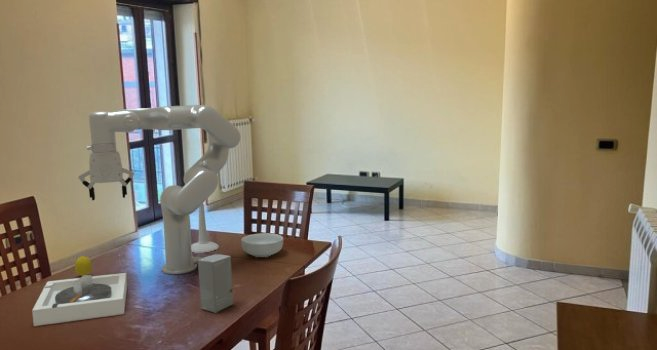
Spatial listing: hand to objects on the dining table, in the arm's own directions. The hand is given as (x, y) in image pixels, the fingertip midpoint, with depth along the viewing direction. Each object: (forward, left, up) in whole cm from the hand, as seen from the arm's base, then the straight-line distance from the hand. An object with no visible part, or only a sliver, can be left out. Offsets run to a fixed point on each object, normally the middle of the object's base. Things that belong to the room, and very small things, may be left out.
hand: (108, 198), depth 178 cm
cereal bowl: (-55, -12, -30) cm, 64 cm away
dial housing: (+8, +18, -30) cm, 36 cm away
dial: (+8, +18, -28) cm, 34 cm away
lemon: (+11, -9, -30) cm, 34 cm away
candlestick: (-33, -29, -30) cm, 54 cm away
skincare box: (-31, +34, -30) cm, 55 cm away
